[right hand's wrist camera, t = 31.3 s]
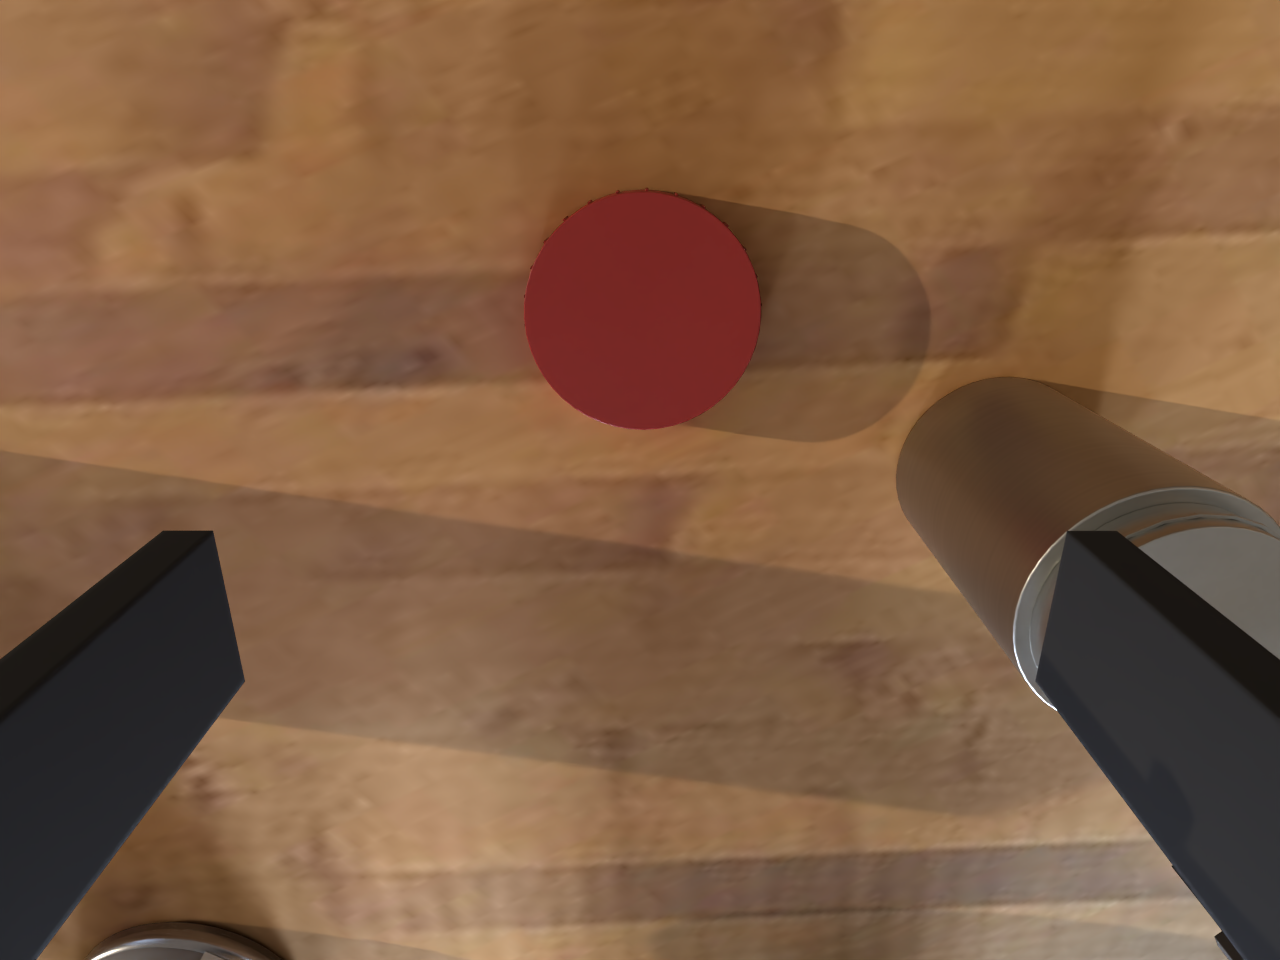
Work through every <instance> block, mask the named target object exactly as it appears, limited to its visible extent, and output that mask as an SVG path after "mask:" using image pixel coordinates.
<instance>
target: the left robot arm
mask: <svg viewBox="0 0 1280 960" xmlns="http://www.w3.org/2000/svg"><path fill="white" fill-rule="evenodd" d="M1172 867H1173V869H1174V870H1175V871H1176V872H1177V874H1178V875H1179V876H1180V878H1181V879H1182V880H1183V881H1184V879H1183V878H1182V877H1181V875H1180V874H1179V873H1178V871H1177V870H1176V869H1175V867H1174V866H1172ZM1184 883H1185V884H1186V885H1187V883H1186V882H1185V881H1184ZM1187 886H1188V885H1187ZM1188 888H1189V889H1190V887H1189V886H1188ZM1190 890H1191V889H1190ZM1191 891H1192V890H1191ZM1192 893H1193V891H1192ZM1193 894H1194V893H1193ZM1194 895H1195V894H1194ZM1195 897H1196V895H1195ZM1196 898H1197V897H1196ZM1197 899H1198V898H1197ZM1198 900H1199V899H1198ZM1199 902H1200V901H1199ZM1200 903H1201V902H1200ZM1201 904H1202V903H1201ZM1203 907H1204V906H1203ZM1204 908H1205V907H1204ZM1207 912H1208V911H1207ZM1210 916H1211V915H1210ZM1215 939H1216V942H1217V945H1218V946H1219V948H1220V949H1221V950H1222V952H1223V953H1224V954H1225V956H1226V957H1227V958H1228V959H1229V960H1244V959H1243V958H1242V957H1241V955H1240V954H1239V953H1238V951H1237V950H1236V949H1235V947H1234V946H1233V945H1232V943H1231V942H1230V941H1229V939H1228V938H1227V937H1226V935H1225V934H1224V933H1223V931H1222V932H1220V933H1219V934H1217V935H1216V936H1215Z"/></svg>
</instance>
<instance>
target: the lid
mask: <svg viewBox="0 0 1280 960" xmlns="http://www.w3.org/2000/svg"><path fill="white" fill-rule="evenodd" d="M563 221H564V222H563V223H562V224H561V225H560V226H559V227H558V228H557V229H556V230H555V231H554V232H553V234H552V235H551V236H550V237H548V238H547V239H546V240H545V241H544V242H543V243H545V244H544V246H543V247H542V249H541V251H540V252H539V254H538V256H537V258H536V260H535V262H534V264H533V265H532V266H531V268H530V269H531V272H530V276H529V279H528V283H527V287H526V294H525V295H524V298H525V301H524V320H525V328H526V335H527V339H528V342H529V346H530V349H531V352H532V354H533V357H534V359H535V362H536V364H537V366H538V367H539V369H540V371H541V373H542V374H543V376H544V377H545V379H546V380H547V381H548V383H549V384H550V385H551V387H552V388H553V389H554V390H555V391H556V392H557V393H558V394H559V395H560V396H561V397H562V398H563V399H564V400H565V401H566V402H567V403H569V404H570V405H571V406H572V407H574V408H575V409H577V410H578V411H580V412H582V413H583V414H585V415H586V416H588V417H591V418H593V419H595V420H597V421H599V422H602V423H605V424H609V425H612V426H615V427H621V428H627V429H640V430H646V429H659V428H664V427H669V426H674V425H677V424H679V423H682V422H685V421H688V420H690V419H692V418H694V417H696V416H698V415H700V414H702V413H704V412H705V411H707V410H708V409H710V408H711V407H713V406H714V405H715V404H716V403H718V402H719V401H720V400H721V399H722V398H723V397H725V396H726V394H727V393H728V392H729V391H730V390H731V389H732V388H733V387H734V386H735V384H736V383H737V382H738V380H739V379H740V377H741V376H742V375H743V373H744V371H745V369H746V367H747V366H748V364H749V362H750V360H751V357H752V355H753V352H754V349H755V347H756V343H757V339H758V335H759V331H760V321H761V306H762V304H761V298H760V292H759V286H758V282H757V275H756V274H755V271H754V268H753V266H752V264H751V262H750V259H749V257H748V255H747V253H746V252H745V251H746V248H745V247H744V246H742V245H741V244H740V242H739V240H738V239H737V238H736V237H735V236H734V234H733V233H732V232H731V231H730V230H729V228H728V225H727V224H726V223H725V222H723V223H722V222H721V221H720V220H719V219H718V218H717V217H715V216H714V215H713V214H712V213H710V212H709V211H707V210H706V209H705V206H704V205H702V204H701V205H698V204H696V203H694V202H692V201H690V200H688V199H686V198H684V197H681V196H678V194H677V193H675V192H674V194H672V193H667V192H662V191H657V190H648V188H646V190H630V191H623V192H619V190H617V191H616V193H614V194H610V195H607V196H605V197H602V198H599V199H597V200H595V201H593V202H592V200H590V201H589V202H588V204H587V205H585V206H584V207H582V208H580V209H579V210H578V211H576V212H575V213H574V214H572V215H571V216H570V217H568V216H567V217H566V218H564V219H563Z"/></svg>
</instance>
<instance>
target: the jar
mask: <svg viewBox="0 0 1280 960" xmlns="http://www.w3.org/2000/svg"><path fill="white" fill-rule="evenodd" d="M896 487H897V493H898V499H899V502H900V505H901V508H902V510H903V512H904V514H905V516H906V518H907V520H908V521H909V522H910V524H911V525H912V526H913V528H914V529H915V530H916V532H917V533H918V535H919V536H920V537H921V539H922V540H923V541H924V543H925V544H926V545H927V547H928V548H929V550H930V551H931V552H932V554H933V555H934V556H935V558H936V559H937V561H938V562H939V563H940V565H941V566H942V567H943V569H944V570H945V571H946V573H947V574H948V576H949V577H950V578H951V580H952V581H953V582H954V584H955V585H956V586H957V588H958V589H959V591H960V592H961V593H962V595H963V596H964V597H965V599H966V600H967V602H968V603H969V604H970V606H971V607H972V608H973V610H974V611H975V612H976V614H977V615H978V617H979V618H980V619H981V621H982V622H983V623H984V625H985V626H986V627H987V629H988V630H989V632H990V633H991V634H992V636H993V637H994V638H995V640H996V641H997V643H998V644H999V645H1000V647H1001V648H1002V649H1003V651H1004V652H1005V653H1006V655H1007V656H1008V658H1009V659H1010V660H1011V662H1012V663H1013V664H1014V666H1015V667H1016V668H1017V670H1018V671H1019V673H1020V674H1021V675H1022V677H1023V678H1024V679H1025V681H1026V682H1027V683H1028V685H1029V686H1030V688H1031V689H1032V690H1033V691H1034V692H1035V693H1036V694H1037V695H1038V696H1039V697H1040V698H1041V699H1042V700H1043V701H1044V702H1045V703H1047V704H1048V705H1049V706H1051V707H1052V708H1054V709H1055V710H1056V708H1055V707H1054V706H1053V704H1052V703H1051V702H1050V700H1049V699H1048V698H1047V696H1046V695H1045V694H1044V692H1043V691H1042V690H1041V688H1040V687H1039V686H1038V684H1037V683H1036V682H1035V679H1036V675H1037V670H1038V665H1039V660H1040V656H1041V651H1042V646H1043V642H1044V637H1045V632H1046V627H1047V623H1048V618H1049V613H1050V609H1051V604H1052V599H1053V594H1054V590H1055V585H1056V580H1057V576H1058V571H1059V566H1060V561H1061V557H1062V552H1063V547H1064V543H1065V538H1066V533H1067V531H1118V532H1119V533H1120V534H1122V535H1123V536H1124V537H1125V538H1127V539H1128V540H1129V541H1130V542H1132V543H1133V544H1134V545H1135V546H1137V547H1138V548H1139V549H1141V550H1142V551H1143V552H1144V553H1146V554H1147V555H1148V556H1149V557H1151V558H1152V559H1153V560H1154V561H1156V562H1157V563H1158V564H1160V565H1161V566H1162V567H1163V568H1165V569H1166V570H1167V571H1168V572H1170V573H1171V574H1172V575H1173V576H1175V577H1176V578H1177V579H1179V580H1180V581H1181V582H1182V583H1184V584H1185V585H1186V586H1187V587H1189V588H1190V589H1191V590H1192V591H1194V592H1195V593H1196V594H1197V595H1199V596H1200V597H1201V598H1203V599H1204V600H1205V601H1206V602H1208V603H1209V604H1210V605H1211V606H1213V607H1214V608H1215V609H1216V610H1218V611H1219V612H1220V613H1222V614H1223V615H1224V616H1225V617H1227V618H1228V619H1229V620H1230V621H1232V622H1233V623H1234V624H1235V625H1237V626H1238V627H1239V628H1241V629H1242V630H1243V631H1244V632H1246V633H1247V634H1248V635H1249V636H1251V637H1252V638H1253V639H1254V640H1256V641H1257V642H1258V643H1259V644H1261V645H1262V646H1263V647H1265V648H1266V649H1267V650H1268V651H1270V652H1271V653H1272V654H1273V655H1275V656H1276V657H1277V658H1278V659H1280V527H1279V526H1278V524H1277V523H1276V522H1275V521H1274V519H1273V518H1272V517H1271V516H1270V515H1268V514H1267V513H1266V512H1265V511H1264V510H1263V509H1261V508H1260V507H1259V506H1257V505H1255V504H1254V503H1252V502H1251V501H1249V500H1247V499H1246V498H1244V497H1242V496H1240V495H1239V494H1237V493H1235V492H1233V491H1231V490H1230V489H1228V488H1226V487H1224V486H1223V485H1221V484H1219V483H1217V482H1216V481H1214V480H1212V479H1210V478H1209V477H1207V476H1205V475H1203V474H1202V473H1200V472H1198V471H1196V470H1195V469H1193V468H1191V467H1189V466H1188V465H1186V464H1184V463H1182V462H1181V461H1179V460H1177V459H1175V458H1173V457H1172V456H1170V455H1168V454H1166V453H1165V452H1163V451H1161V450H1159V449H1158V448H1156V447H1154V446H1152V445H1151V444H1149V443H1147V442H1145V441H1144V440H1142V439H1140V438H1138V437H1137V436H1135V435H1133V434H1131V433H1130V432H1128V431H1126V430H1124V429H1123V428H1121V427H1119V426H1117V425H1115V424H1114V423H1112V422H1110V421H1108V420H1107V419H1105V418H1103V417H1101V416H1100V415H1098V414H1096V413H1094V412H1093V411H1091V410H1089V409H1087V408H1086V407H1084V406H1082V405H1080V404H1079V403H1077V402H1075V401H1073V400H1072V399H1070V398H1068V397H1066V396H1065V395H1063V394H1061V393H1059V392H1057V391H1056V390H1054V389H1052V388H1050V387H1049V386H1046V385H1044V384H1042V383H1039V382H1037V381H1033V380H1029V379H1025V378H1016V377H998V378H991V379H985V380H981V381H977V382H974V383H971V384H968V385H966V386H963V387H961V388H959V389H957V390H955V391H953V392H951V393H950V394H948V395H946V396H945V397H943V398H942V399H941V400H939V401H938V402H936V403H935V404H934V405H933V406H932V407H931V408H930V409H928V410H927V411H926V412H925V414H924V415H923V416H922V417H921V418H920V419H919V420H918V422H917V423H916V424H915V426H914V427H913V429H912V430H911V432H910V433H909V435H908V437H907V439H906V441H905V443H904V445H903V448H902V451H901V453H900V457H899V461H898V465H897V474H896Z"/></svg>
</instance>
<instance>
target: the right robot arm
mask: <svg viewBox="0 0 1280 960" xmlns="http://www.w3.org/2000/svg"><path fill="white" fill-rule="evenodd" d="M244 682H245V679H244V675H243V670H242V665H241V660H240V656H239V651H238V646H237V642H236V637H235V632H234V627H233V623H232V618H231V613H230V609H229V604H228V599H227V594H226V590H225V585H224V580H223V576H222V571H221V566H220V561H219V557H218V552H217V547H216V543H215V538H214V533H213V531H162V532H161V533H160V534H158V535H157V536H156V537H155V538H153V539H152V540H151V541H150V542H148V543H147V544H146V545H145V546H143V547H142V548H141V549H139V550H138V551H137V552H136V553H134V554H133V555H132V556H131V557H129V558H128V559H127V560H126V561H124V562H123V563H122V564H120V565H119V566H118V567H117V568H115V569H114V570H113V571H112V572H110V573H109V574H108V575H107V576H105V577H104V578H103V579H101V580H100V581H99V582H98V583H96V584H95V585H94V586H93V587H91V588H90V589H89V590H88V591H86V592H85V593H84V594H83V595H81V596H80V597H79V598H77V599H76V600H75V601H74V602H72V603H71V604H70V605H69V606H67V607H66V608H65V609H64V610H62V611H61V612H60V613H58V614H57V615H56V616H55V617H53V618H52V619H51V620H50V621H48V622H47V623H46V624H45V625H43V626H42V627H41V628H39V629H38V630H37V631H36V632H34V633H33V634H32V635H31V636H29V637H28V638H27V639H26V640H24V641H23V642H22V643H20V644H19V645H18V646H17V647H15V648H14V649H13V650H12V651H10V652H9V653H8V654H7V655H5V656H4V657H3V658H2V659H0V960H36V959H37V958H38V957H39V955H40V954H41V953H42V951H43V950H44V949H45V947H46V946H47V945H48V943H49V942H50V941H51V939H52V938H53V937H54V935H55V934H56V933H57V931H58V930H59V929H60V927H61V926H62V925H63V923H64V922H65V921H66V919H67V918H68V917H69V915H70V914H71V913H72V911H73V910H74V909H75V907H76V906H77V905H78V903H79V902H80V901H81V899H82V898H83V897H84V895H85V894H86V893H87V891H88V890H89V889H90V887H91V886H92V885H93V883H94V882H95V881H96V879H97V878H98V877H99V875H100V874H101V873H102V871H103V870H104V869H105V867H106V866H107V865H108V863H109V862H110V861H111V859H112V858H113V857H114V855H115V854H116V853H117V851H118V850H119V849H120V847H121V846H122V845H123V843H124V842H125V841H126V839H127V838H128V837H129V835H130V834H131V833H132V831H133V830H134V829H135V827H136V826H137V825H138V823H139V822H140V821H141V819H142V818H143V817H144V815H145V814H146V813H147V811H148V810H149V809H150V807H151V806H152V805H153V803H154V802H155V801H156V799H157V798H158V797H159V795H160V794H161V793H162V791H163V790H164V789H165V787H166V786H167V785H168V783H169V782H170V781H171V779H172V778H173V777H174V775H175V774H176V773H177V771H178V770H179V769H180V767H181V766H182V765H183V763H184V762H185V761H186V759H187V758H188V757H189V755H190V754H191V753H192V751H193V750H194V748H195V747H196V746H197V744H198V743H199V742H200V740H201V739H202V738H203V736H204V735H205V734H206V732H207V731H208V730H209V728H210V727H211V726H212V724H213V723H214V722H215V720H216V719H217V718H218V716H219V715H220V714H221V712H222V711H223V710H224V708H225V707H226V706H227V704H228V703H229V702H230V700H231V699H232V698H233V696H234V695H235V694H236V692H237V691H238V690H239V688H240V687H241V686H242V684H243V683H244ZM1035 682H1036V683H1037V684H1038V686H1039V687H1040V688H1041V690H1042V691H1043V692H1044V694H1045V695H1046V696H1047V698H1048V699H1049V700H1050V702H1051V703H1052V704H1053V706H1054V707H1055V708H1056V710H1057V711H1058V712H1059V714H1060V715H1061V716H1062V718H1063V719H1064V720H1065V722H1066V723H1067V724H1068V726H1069V727H1070V728H1071V730H1072V731H1073V732H1074V734H1075V735H1076V736H1077V738H1078V739H1079V740H1080V742H1081V743H1082V744H1083V746H1084V747H1085V748H1086V750H1087V751H1088V753H1089V754H1090V755H1091V757H1092V758H1093V759H1094V761H1095V762H1096V763H1097V765H1098V766H1099V767H1100V769H1101V770H1102V771H1103V773H1104V774H1105V775H1106V777H1107V778H1108V779H1109V781H1110V782H1111V783H1112V785H1113V786H1114V787H1115V789H1116V790H1117V791H1118V793H1119V794H1120V795H1121V797H1122V798H1123V799H1124V801H1125V802H1126V803H1127V805H1128V806H1129V807H1130V809H1131V810H1132V811H1133V813H1134V814H1135V815H1136V817H1137V818H1138V819H1139V821H1140V822H1141V823H1142V825H1143V826H1144V827H1145V829H1146V830H1147V831H1148V833H1149V834H1150V835H1151V837H1152V838H1153V839H1154V841H1155V842H1156V843H1157V845H1158V846H1159V847H1160V849H1161V850H1162V851H1163V853H1164V854H1165V855H1166V857H1167V858H1168V859H1169V861H1170V862H1171V863H1172V865H1173V866H1174V867H1175V869H1176V870H1177V871H1178V873H1179V874H1180V875H1181V877H1182V878H1183V879H1184V881H1185V882H1186V883H1187V885H1188V886H1189V887H1190V889H1191V890H1192V891H1193V893H1194V894H1195V895H1196V897H1197V898H1198V899H1199V901H1200V902H1201V903H1202V905H1203V906H1204V907H1205V909H1206V910H1207V911H1208V913H1209V914H1210V915H1211V917H1212V918H1213V919H1214V921H1215V922H1216V923H1217V925H1218V926H1219V927H1220V929H1221V930H1222V931H1223V933H1224V934H1225V935H1226V937H1227V938H1228V939H1229V941H1230V942H1231V943H1232V945H1233V946H1234V947H1235V949H1236V950H1237V951H1238V953H1239V954H1240V955H1241V957H1242V958H1243V959H1244V960H1280V659H1278V658H1277V657H1276V656H1275V655H1273V654H1272V653H1271V652H1270V651H1268V650H1267V649H1266V648H1265V647H1263V646H1262V645H1261V644H1259V643H1258V642H1257V641H1256V640H1254V639H1253V638H1252V637H1251V636H1249V635H1248V634H1247V633H1246V632H1244V631H1243V630H1242V629H1241V628H1239V627H1238V626H1237V625H1235V624H1234V623H1233V622H1232V621H1230V620H1229V619H1228V618H1227V617H1225V616H1224V615H1223V614H1222V613H1220V612H1219V611H1218V610H1216V609H1215V608H1214V607H1213V606H1211V605H1210V604H1209V603H1208V602H1206V601H1205V600H1204V599H1203V598H1201V597H1200V596H1199V595H1197V594H1196V593H1195V592H1194V591H1192V590H1191V589H1190V588H1189V587H1187V586H1186V585H1185V584H1184V583H1182V582H1181V581H1180V580H1179V579H1177V578H1176V577H1175V576H1173V575H1172V574H1171V573H1170V572H1168V571H1167V570H1166V569H1165V568H1163V567H1162V566H1161V565H1160V564H1158V563H1157V562H1156V561H1154V560H1153V559H1152V558H1151V557H1149V556H1148V555H1147V554H1146V553H1144V552H1143V551H1142V550H1141V549H1139V548H1138V547H1137V546H1135V545H1134V544H1133V543H1132V542H1130V541H1129V540H1128V539H1127V538H1125V537H1124V536H1123V535H1122V534H1120V533H1119V532H1118V531H1067V533H1066V538H1065V543H1064V547H1063V552H1062V557H1061V561H1060V566H1059V571H1058V576H1057V580H1056V585H1055V590H1054V594H1053V599H1052V604H1051V609H1050V613H1049V618H1048V623H1047V627H1046V632H1045V637H1044V642H1043V646H1042V651H1041V656H1040V660H1039V665H1038V670H1037V675H1036V679H1035ZM85 960H282V959H280V958H279V957H278V956H276V955H275V954H274V953H272V952H271V951H269V950H268V949H266V948H265V947H263V946H261V945H259V944H257V943H256V942H254V941H252V940H250V939H247V938H245V937H243V936H240V935H238V934H235V933H232V932H229V931H226V930H223V929H219V928H216V927H211V926H206V925H200V924H193V923H181V922H164V923H152V924H146V925H141V926H136V927H132V928H129V929H126V930H123V931H121V932H119V933H116V934H114V935H112V936H110V937H109V938H107V939H105V940H104V941H102V942H101V943H100V944H98V945H97V946H96V947H95V948H94V949H93V950H92V951H91V952H90V953H89V954H88V956H87V957H86V958H85Z"/></svg>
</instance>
